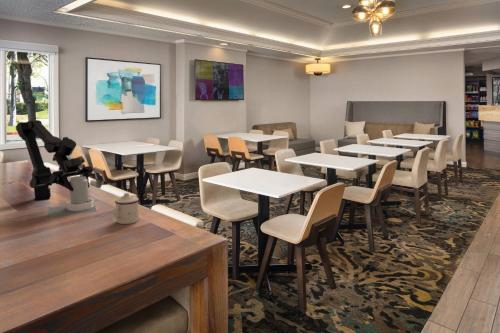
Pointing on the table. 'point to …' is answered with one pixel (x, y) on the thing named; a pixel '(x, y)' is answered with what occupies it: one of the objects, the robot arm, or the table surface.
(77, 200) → the can
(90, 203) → the bowl
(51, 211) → the placemat
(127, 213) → the teacup with lid
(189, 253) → the table surface
